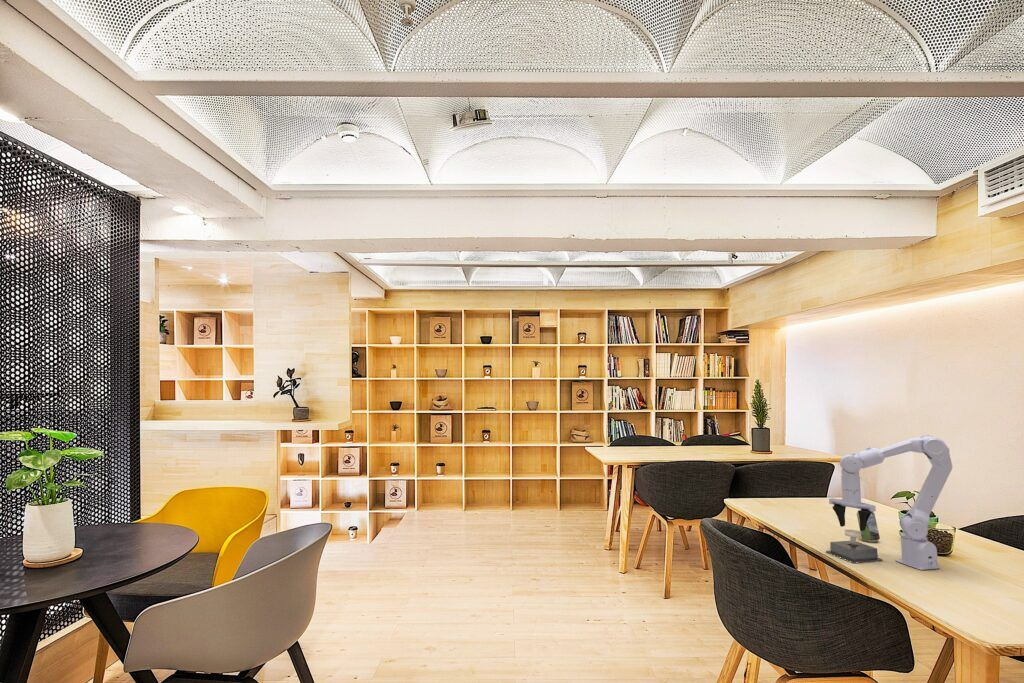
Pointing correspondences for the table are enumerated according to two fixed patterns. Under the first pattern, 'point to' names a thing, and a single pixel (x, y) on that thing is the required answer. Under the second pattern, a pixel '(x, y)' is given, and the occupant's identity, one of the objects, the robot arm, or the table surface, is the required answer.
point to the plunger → (853, 536)
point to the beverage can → (870, 529)
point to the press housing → (854, 551)
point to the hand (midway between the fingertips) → (852, 528)
